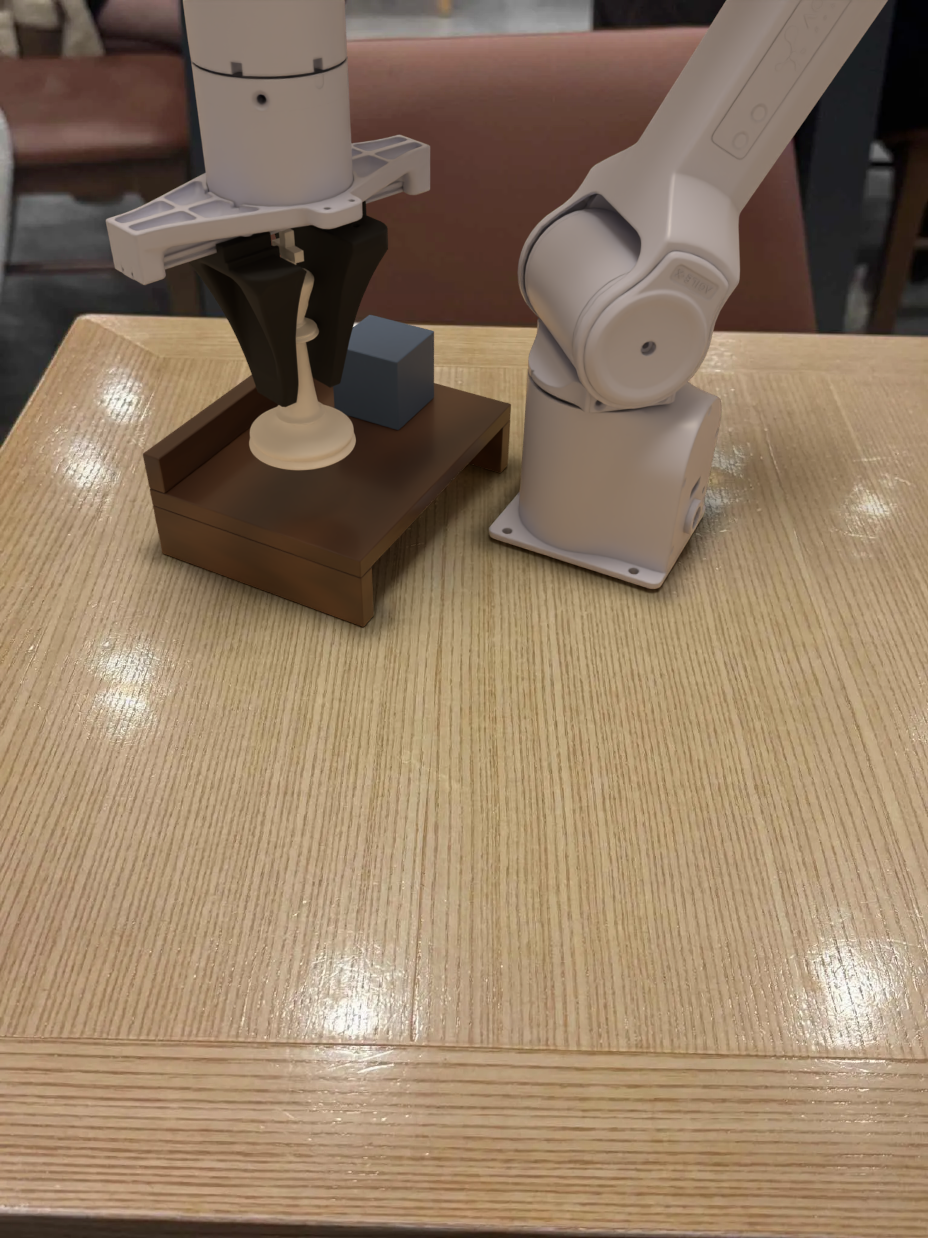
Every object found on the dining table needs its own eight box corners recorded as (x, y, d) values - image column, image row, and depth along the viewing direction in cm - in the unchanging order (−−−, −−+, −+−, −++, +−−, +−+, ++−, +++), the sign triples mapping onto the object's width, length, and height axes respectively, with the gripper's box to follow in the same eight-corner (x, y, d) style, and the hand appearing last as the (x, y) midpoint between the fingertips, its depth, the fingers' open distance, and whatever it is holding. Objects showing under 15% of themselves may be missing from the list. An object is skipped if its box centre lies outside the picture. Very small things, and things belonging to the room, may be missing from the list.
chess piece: (287, 483, 48) (267, 264, 42) (229, 436, 51) (202, 224, 45) (376, 447, 51) (370, 235, 44) (316, 404, 54) (303, 199, 47)
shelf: (508, 465, 63) (513, 370, 59) (363, 627, 52) (358, 525, 48) (330, 412, 67) (324, 320, 63) (162, 553, 56) (141, 453, 52)
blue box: (434, 397, 60) (434, 330, 58) (398, 430, 58) (397, 362, 55) (372, 380, 62) (369, 313, 59) (334, 412, 59) (329, 343, 56)
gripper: (161, 123, 34) (217, 486, 43) (485, 45, 42) (475, 365, 51) (47, 75, 38) (120, 418, 47) (364, 11, 46) (375, 315, 55)
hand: (299, 387), depth 49 cm, fingers closed on chess piece
